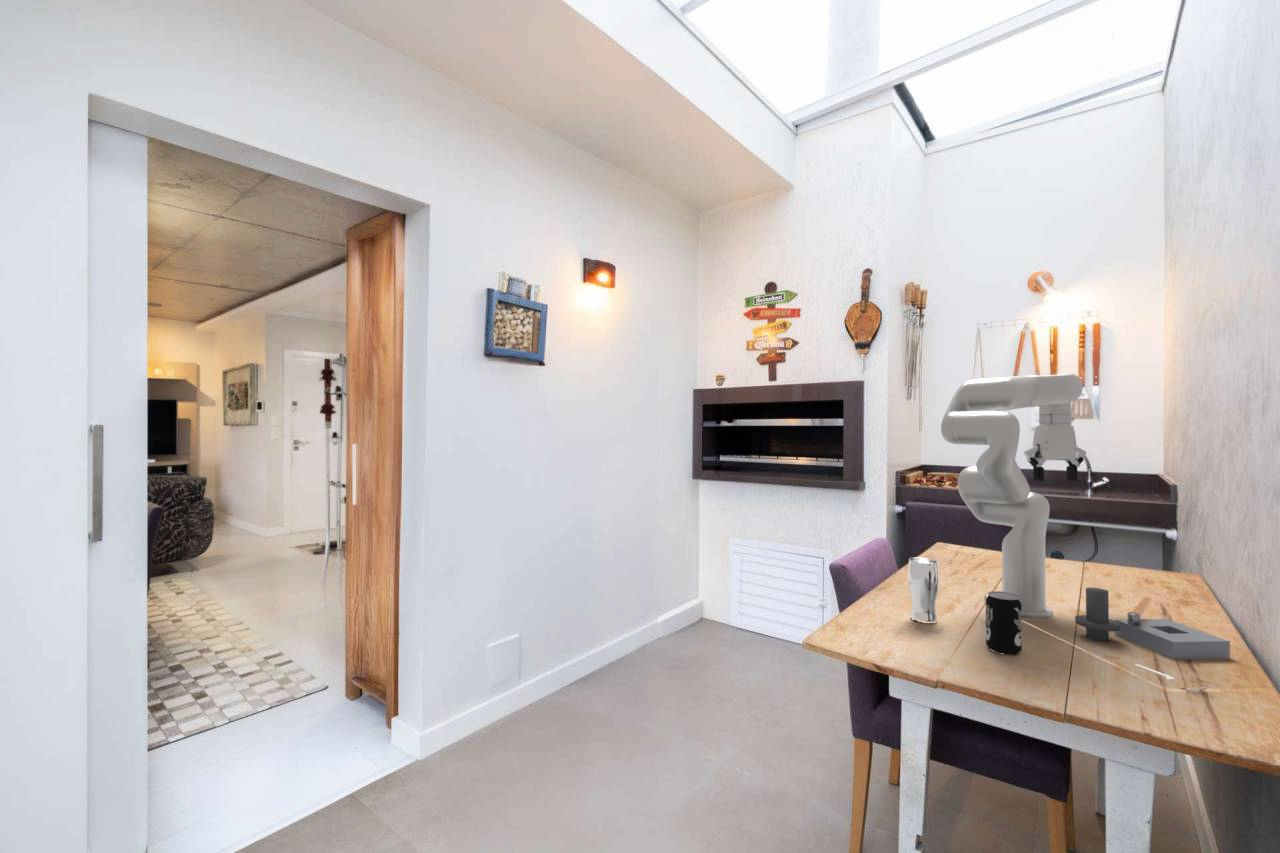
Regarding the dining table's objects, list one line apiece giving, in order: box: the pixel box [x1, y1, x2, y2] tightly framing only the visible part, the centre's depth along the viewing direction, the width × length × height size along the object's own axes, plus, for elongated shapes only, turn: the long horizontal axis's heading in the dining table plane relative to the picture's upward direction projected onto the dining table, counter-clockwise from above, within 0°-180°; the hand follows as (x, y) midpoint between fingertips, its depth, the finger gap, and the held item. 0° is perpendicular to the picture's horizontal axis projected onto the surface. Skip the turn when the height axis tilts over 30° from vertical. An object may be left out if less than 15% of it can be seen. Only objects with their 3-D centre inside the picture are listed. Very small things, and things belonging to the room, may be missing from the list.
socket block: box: [1114, 618, 1231, 660], centre depth 125 cm, size 12×14×4 cm
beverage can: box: [985, 590, 1023, 656], centre depth 124 cm, size 7×7×12 cm
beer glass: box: [907, 557, 940, 622], centre depth 144 cm, size 7×7×15 cm
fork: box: [1134, 663, 1212, 691], centre depth 112 cm, size 3×20×2 cm, turn 7°
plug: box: [1074, 587, 1120, 643], centre depth 130 cm, size 8×8×12 cm
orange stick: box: [1126, 596, 1152, 625], centre depth 134 cm, size 20×2×2 cm, turn 131°
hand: (1055, 480), depth 163 cm, fingers open, 9 cm apart
